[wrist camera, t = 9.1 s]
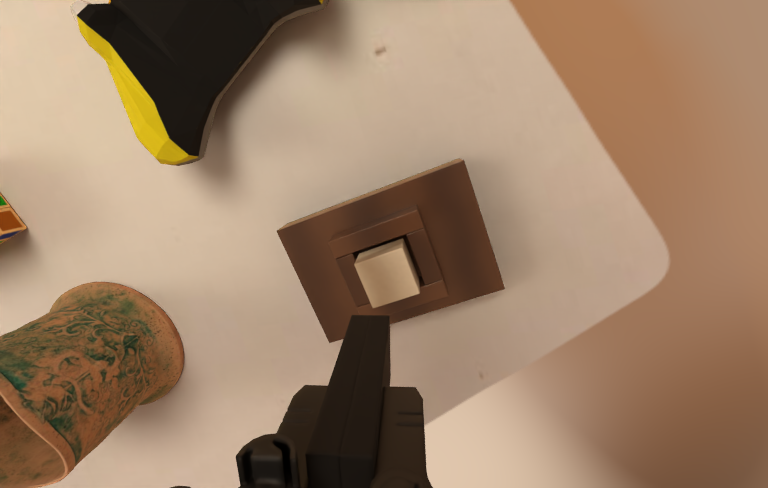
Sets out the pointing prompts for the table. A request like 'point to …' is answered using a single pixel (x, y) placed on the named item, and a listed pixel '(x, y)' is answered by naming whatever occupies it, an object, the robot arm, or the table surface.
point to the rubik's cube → (8, 221)
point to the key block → (385, 225)
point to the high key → (387, 273)
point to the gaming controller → (179, 60)
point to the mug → (79, 378)
